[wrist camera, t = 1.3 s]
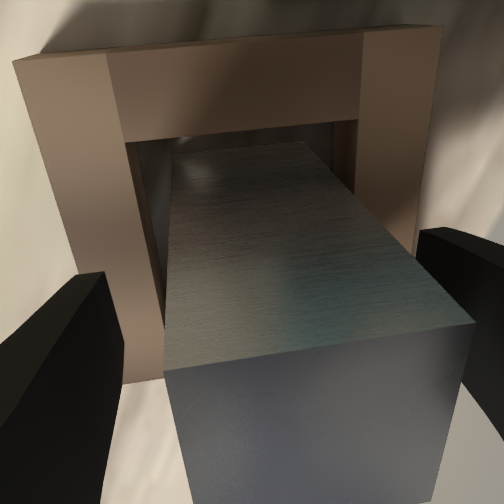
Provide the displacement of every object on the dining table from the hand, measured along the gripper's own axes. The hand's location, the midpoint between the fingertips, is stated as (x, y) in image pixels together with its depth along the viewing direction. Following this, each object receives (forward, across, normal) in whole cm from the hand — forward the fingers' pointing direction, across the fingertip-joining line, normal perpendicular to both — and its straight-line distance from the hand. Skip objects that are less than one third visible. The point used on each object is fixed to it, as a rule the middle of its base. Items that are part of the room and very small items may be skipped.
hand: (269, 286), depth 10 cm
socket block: (+5, 0, 0) cm, 5 cm away
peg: (+5, 0, 0) cm, 5 cm away
